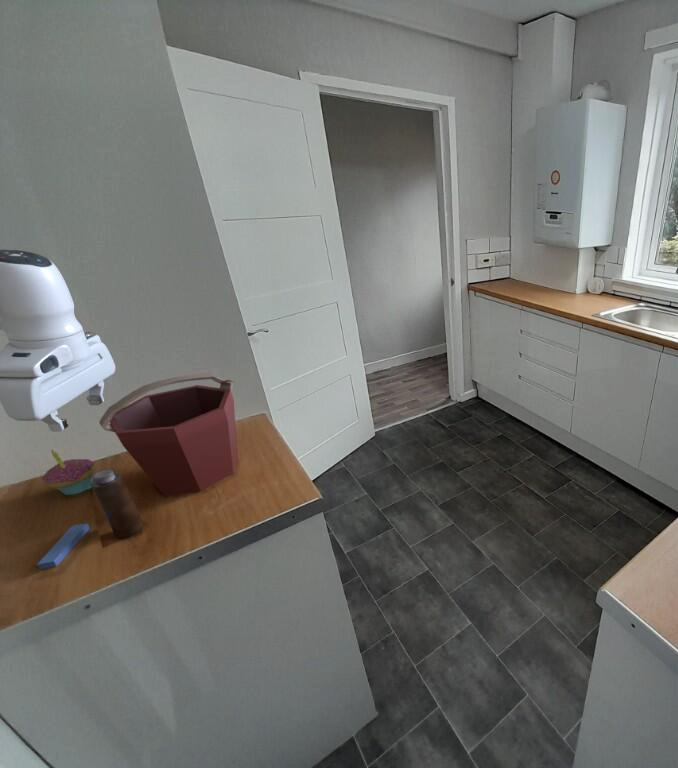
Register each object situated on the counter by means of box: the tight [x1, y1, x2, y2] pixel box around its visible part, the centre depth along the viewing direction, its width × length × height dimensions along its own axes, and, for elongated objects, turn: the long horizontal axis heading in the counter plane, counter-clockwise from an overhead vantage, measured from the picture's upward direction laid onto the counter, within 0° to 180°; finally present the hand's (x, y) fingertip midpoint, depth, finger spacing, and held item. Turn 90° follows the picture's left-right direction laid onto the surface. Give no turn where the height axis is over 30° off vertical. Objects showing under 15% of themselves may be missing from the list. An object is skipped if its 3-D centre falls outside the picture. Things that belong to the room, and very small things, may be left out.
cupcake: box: [42, 449, 98, 496], centre depth 92 cm, size 9×8×12 cm
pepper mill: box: [91, 469, 145, 539], centre depth 80 cm, size 4×4×14 cm
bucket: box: [98, 372, 238, 496], centre depth 95 cm, size 24×22×25 cm
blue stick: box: [36, 522, 91, 571], centre depth 77 cm, size 10×2×2 cm, turn 18°
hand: (79, 415), depth 77 cm, fingers open, 8 cm apart
